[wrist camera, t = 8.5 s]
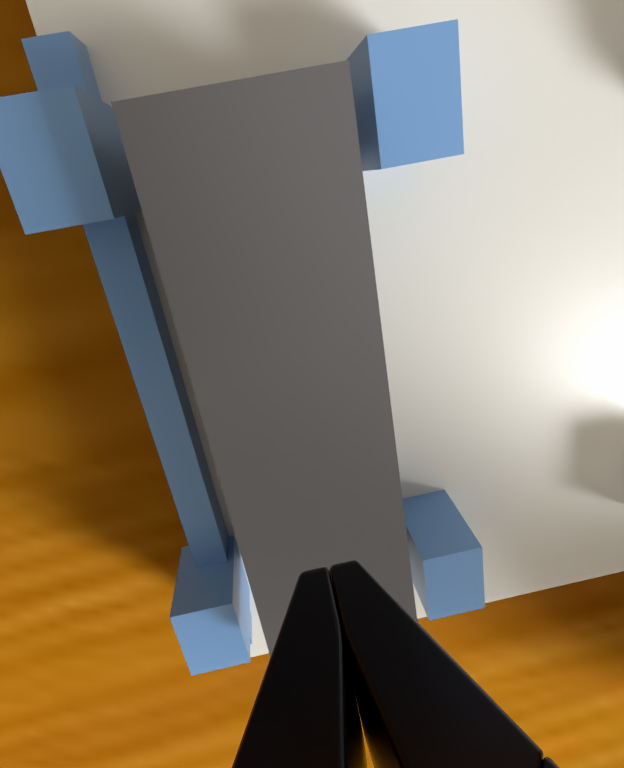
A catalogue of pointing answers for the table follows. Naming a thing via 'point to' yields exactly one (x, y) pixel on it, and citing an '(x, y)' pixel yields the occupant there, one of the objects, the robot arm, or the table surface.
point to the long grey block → (278, 318)
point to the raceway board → (386, 267)
